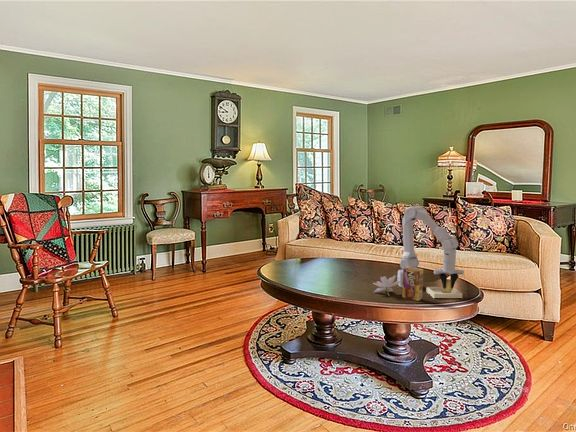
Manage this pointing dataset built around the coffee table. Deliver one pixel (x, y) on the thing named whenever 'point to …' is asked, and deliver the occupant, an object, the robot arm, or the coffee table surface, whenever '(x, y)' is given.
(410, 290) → the candy box
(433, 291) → the bore box
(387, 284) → the water lily
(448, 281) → the peg
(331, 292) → the coffee table surface
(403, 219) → the robot arm
